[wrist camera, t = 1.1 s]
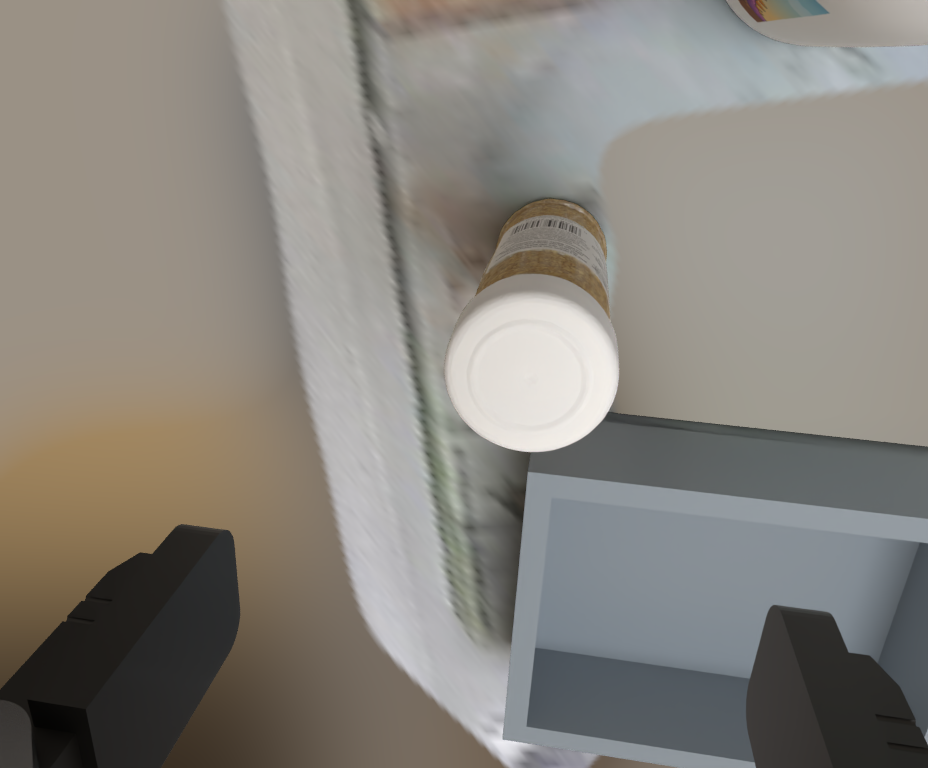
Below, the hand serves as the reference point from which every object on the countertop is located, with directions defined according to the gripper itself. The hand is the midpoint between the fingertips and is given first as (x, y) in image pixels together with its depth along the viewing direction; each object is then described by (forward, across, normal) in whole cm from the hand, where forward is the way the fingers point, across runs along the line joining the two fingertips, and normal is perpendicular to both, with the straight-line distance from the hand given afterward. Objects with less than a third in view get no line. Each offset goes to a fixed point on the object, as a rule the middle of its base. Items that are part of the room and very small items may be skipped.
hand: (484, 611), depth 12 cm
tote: (+22, -9, +14) cm, 28 cm away
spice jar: (+23, 0, 0) cm, 23 cm away
